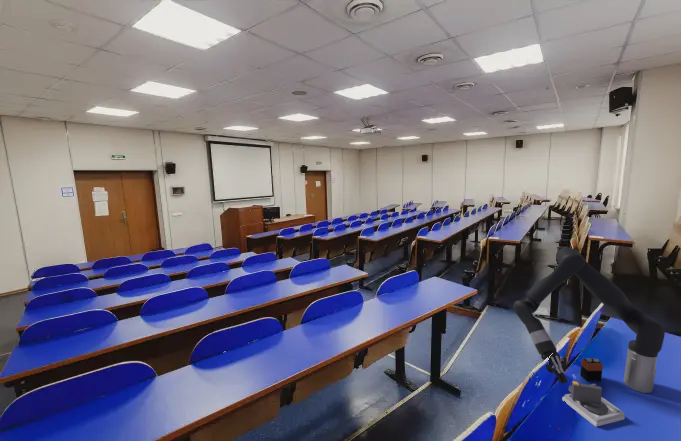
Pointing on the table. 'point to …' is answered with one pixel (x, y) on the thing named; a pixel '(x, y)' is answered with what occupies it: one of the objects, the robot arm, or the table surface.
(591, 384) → the screwdriver
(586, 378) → the battery
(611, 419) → the panel
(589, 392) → the dial
